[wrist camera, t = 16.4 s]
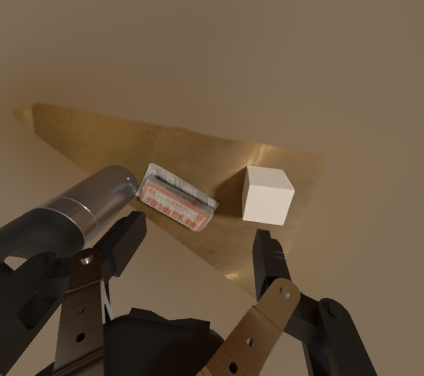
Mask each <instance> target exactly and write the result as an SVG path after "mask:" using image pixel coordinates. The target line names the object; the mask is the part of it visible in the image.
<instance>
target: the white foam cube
mask: <svg viewBox="0 0 424 376" xmlns="http://www.w3.org/2000/svg"><path fill="white" fill-rule="evenodd" d="M294 191H295V190H294V188H293V186H292V185H291V183H290V181H289V180H288V178H287V176H286V175H285V173H284V171H283V170H280V169H271V168H263V167H254V166H247V170H246V175H245V181H244V186H243V192H242V214H243V220H248V221H255V222H263V223H270V224H277V225H283V224H284V221H285V218H286V215H287V212H288V209H289V206H290V203H291V200H292V197H293V194H294Z"/></svg>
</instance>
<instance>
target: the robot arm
mask: <svg viewBox="0 0 424 376" xmlns="http://www.w3.org/2000/svg"><path fill="white" fill-rule="evenodd" d="M137 191H138V185H137V181H136V179H135V178H134V176H133V175H132V174H131V173H130V172H129V171H128V170H126V169H124V168H122V167H120V166H108V167H106V168H104V169H102V170H101V171H99V172H97V173H95V174H93V175H92V176H90V177H88V178H87V179H85V180H83V181H81V182H79V183H78V184H76V185H74V186H72V187H71V188H69V189H68V190H66V191H64V192H62V193H60V194H59V195H57V196H55V197H53V198H52V199H50V200H48V201H46V202H45V203H43V204H41V205H40V206H38V207H36V208H34V209H32V210H30V211H29V212H27V213H25V214H23V215H22V216H21V217H18V218H17V219H15V220H13V221H11V222H10V223H8V224H6V225H5V226H3V227H1V228H0V376H5V375H6V374H7V373H8V372H9V370H10V369H11V368H12V366H13V365H14V364H15V362H16V361H17V360H18V359H19V357H20V356H21V355H22V353H23V352H24V351H25V349H26V348H27V347H28V345H29V344H30V343H31V342H32V340H33V339H34V338H35V337H36V335H37V334H38V333H39V331H40V330H41V329H42V328H43V326H44V325H45V324H46V322H47V321H48V320H49V318H50V317H51V316H52V315H53V313H54V312H55V311H56V309H57V308H58V307H59V305H60V304H61V303H62V306H61V313H60V322H59V330H58V338H57V346H56V354H55V361H54V362H53V363H52V364H50V365H49V366H47V367H46V368H45V369H43V370H42V371H40V372H39V373H38V374H36V375H35V376H259V375H260V373H261V371H262V369H263V368H264V366H265V364H266V362H267V360H268V358H269V357H270V355H271V353H272V351H273V349H274V347H275V346H276V344H277V342H278V340H279V338H280V336H281V335H282V333H283V331H284V332H286V333H287V334H289V335H291V336H293V337H295V338H296V339H298V340H300V341H302V345H303V350H304V355H305V359H306V364H307V369H308V374H309V376H377V374H376V372H375V369H374V367H373V365H372V363H371V361H370V358H369V356H368V354H367V352H366V349H365V347H364V345H363V343H362V341H361V338H360V336H359V334H358V332H357V329H356V327H355V325H354V323H353V321H352V319H351V316H350V314H349V313H348V311H347V310H346V309H345V308H344V307H343V306H342V305H341V304H340V303H338V302H337V301H335V300H333V299H330V298H323V299H321V300H320V301H319V302H318V301H316V300H314V299H312V298H310V297H308V296H305V295H304V294H302V293H301V292H300V291H299V289H298V288H297V286H296V285H295V284H294V283H293V282H292V281H291V278H290V274H289V271H288V268H287V264H286V260H285V257H284V254H283V250H282V246H281V245H280V243H279V242H278V241H277V239H271V236H270V232H269V230H262V229H257V232H256V236H255V240H254V244H253V251H252V254H253V265H254V276H255V287H256V298H257V302H258V303H257V304H256V305H255V306H252V307H251V308H250V309H249V310H248V311H247V313H246V314H245V315H244V317H243V318H242V319H241V320H240V322H239V323H238V324H237V326H236V327H235V328H234V329H233V331H232V332H231V333H230V335H229V336H228V337H227V339H226V340H225V341H224V339H223V338H222V337H221V336H220V335H219V334H218V333H216V332H215V331H214V330H212V329H210V328H209V327H210V322H209V321H203V320H198V319H192V318H189V319H178V320H167V319H165V318H163V317H161V316H159V315H157V314H156V313H154V312H152V311H149V310H143V309H138V308H132V309H131V311H130V313H129V314H127V315H122V316H120V317H117V318H114V317H113V312H112V303H111V293H110V283H109V280H110V278H111V277H112V276H115V277H120V275H121V273H122V272H123V270H124V269H125V267H126V266H127V264H128V263H129V261H130V259H131V258H132V256H133V255H134V253H135V252H136V250H137V248H138V247H139V245H140V244H141V242H142V241H143V239H144V238H145V235H146V232H147V231H146V230H147V227H146V219H145V213H144V212H139V211H132V212H131V213H130V214H129V215H128V216H127V217H123V218H121V219H120V220H118V221H117V222H116V223H115V224H114V225H113V226H112V227H111V228H110V229H109V231H108V232H106V233H105V235H104V236H103V237H102V238H101V239H100V240H99V241H98V242H97V243H96V244H95V245H94V246H93V247H92V248H87V249H84V250H82V249H83V248H84V247H85V246H86V245H87V244H88V243H89V242H90V241H91V240H92V239H93V238H94V237H95V236H96V235H97V234H98V233H99V232H100V231H101V230H102V229H103V228H104V227H105V226H106V225H107V224H108V223H109V222H110V221H111V220H112V219H113V218H114V217H115V216H116V215H117V214H118V213H119V212H120V211H121V210H122V209H123V208H124V207H125V206H126V205H127V204H128V203H129V202H130V201H131V200H132V199H133V198H134V197H135V196H136V194H137ZM8 256H14V257H21V258H25V259H28V260H27V261H26V262H25V263H23V264H22V265H21V266H20V267H19V268H17V269H16V270H15V271H14V270H13V269H11V268H10V267H9V266H8V265H7V264H5V262H4V260H5V258H6V257H8Z"/></svg>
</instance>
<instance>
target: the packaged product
mask: <svg viewBox="0 0 424 376" xmlns="http://www.w3.org/2000/svg"><path fill="white" fill-rule="evenodd" d="M136 196H138V197H140V201H142V202H144V203H145V204H147V205H149V206H151V207H152V208H154V209H156V210H158V211H160V212H162V213H163V214H165V215H167V216H169V217H170V218H172V219H174V220H176V221H178V222H179V223H181V224H183V225H185V226H187V227H188V228H190V229H192V230H193V231H195V232H199V231H201V230H202V229H203V228H205V227H206V225H207V223H208V222H209V220H210V219H211V218H213V212H214V211H215V210H216V209H217V207H218V206H219V202H218V201H216V200H214V199H213V198H211V197H209V196H207V195H206V194H204V193H203V192H201V191H200V190H198V189H197V188H195V187H193V186H192V185H190V184H188V183H187V182H185V181H184V180H182V179H180V178H179V177H177V176H175V175H174V174H172V173H170V172H168V171H167V170H165V169H163V168H161V167H160V166H158V165H156V164H154V163H150V164H149V166H148V169H147V171H146V173H145V175H144V178H143V180H142V182H141V185H140V187H139V189H138V191H137V194H136Z"/></svg>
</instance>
